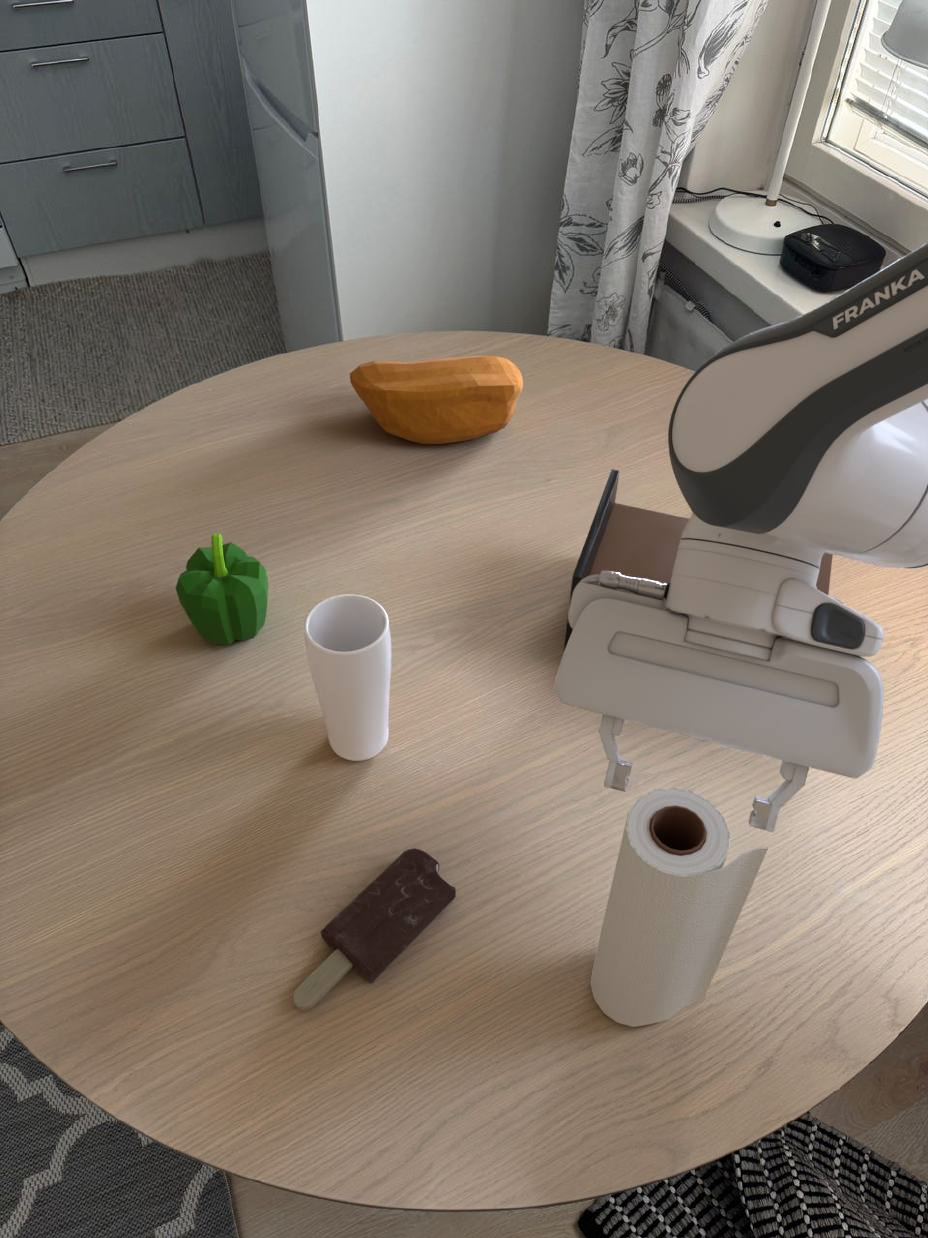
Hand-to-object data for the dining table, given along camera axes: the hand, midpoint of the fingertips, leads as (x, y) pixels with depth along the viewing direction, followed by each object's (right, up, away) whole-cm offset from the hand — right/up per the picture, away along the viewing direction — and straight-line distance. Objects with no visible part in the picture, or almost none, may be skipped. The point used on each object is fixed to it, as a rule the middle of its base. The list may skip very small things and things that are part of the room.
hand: (686, 807), depth 64 cm
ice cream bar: (-21, -12, +11) cm, 27 cm away
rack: (+8, +10, +33) cm, 36 cm away
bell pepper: (-37, +11, +34) cm, 51 cm away
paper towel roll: (-2, -15, +8) cm, 18 cm away
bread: (-18, +37, +59) cm, 72 cm away
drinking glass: (-24, +1, +24) cm, 34 cm away
